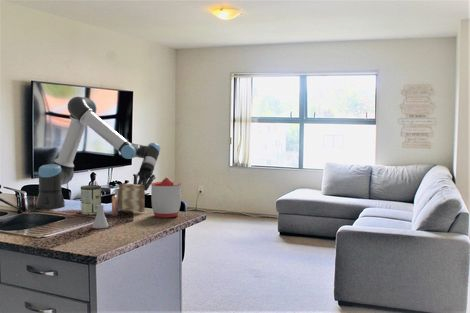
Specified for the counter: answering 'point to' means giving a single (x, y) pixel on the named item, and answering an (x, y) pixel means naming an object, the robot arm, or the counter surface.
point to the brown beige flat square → (132, 197)
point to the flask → (100, 218)
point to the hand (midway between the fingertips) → (136, 199)
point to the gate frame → (115, 203)
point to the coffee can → (90, 199)
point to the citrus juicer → (166, 198)
